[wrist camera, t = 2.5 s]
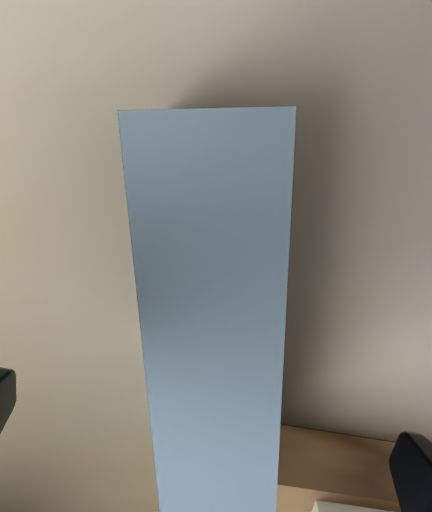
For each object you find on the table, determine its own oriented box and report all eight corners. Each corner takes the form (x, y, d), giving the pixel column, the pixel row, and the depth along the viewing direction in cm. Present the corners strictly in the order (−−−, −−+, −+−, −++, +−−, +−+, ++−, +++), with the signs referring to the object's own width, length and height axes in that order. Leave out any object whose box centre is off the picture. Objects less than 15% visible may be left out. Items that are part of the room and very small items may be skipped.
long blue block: (183, 417, 17) (163, 549, 12) (163, 115, 12) (117, 110, 7) (259, 418, 17) (273, 550, 12) (266, 113, 12) (296, 105, 7)
